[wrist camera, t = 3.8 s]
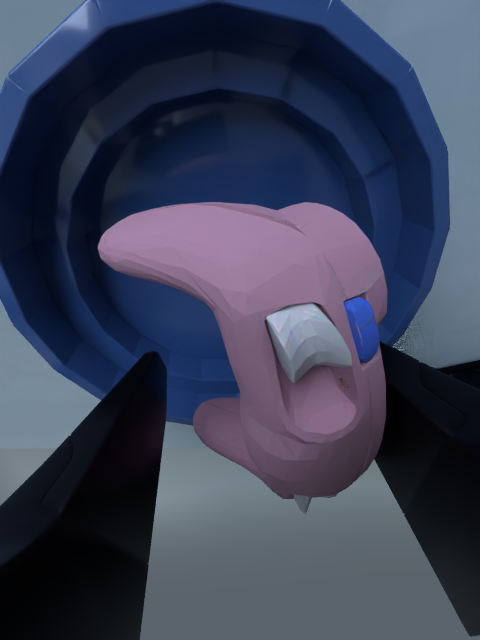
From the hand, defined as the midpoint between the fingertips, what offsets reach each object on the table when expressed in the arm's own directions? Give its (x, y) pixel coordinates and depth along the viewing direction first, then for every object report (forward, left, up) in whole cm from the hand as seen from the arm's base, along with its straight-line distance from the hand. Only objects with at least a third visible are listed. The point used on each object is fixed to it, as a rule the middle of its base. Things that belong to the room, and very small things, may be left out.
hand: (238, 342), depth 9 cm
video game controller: (0, 0, -1) cm, 1 cm away
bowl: (0, 0, -7) cm, 7 cm away
